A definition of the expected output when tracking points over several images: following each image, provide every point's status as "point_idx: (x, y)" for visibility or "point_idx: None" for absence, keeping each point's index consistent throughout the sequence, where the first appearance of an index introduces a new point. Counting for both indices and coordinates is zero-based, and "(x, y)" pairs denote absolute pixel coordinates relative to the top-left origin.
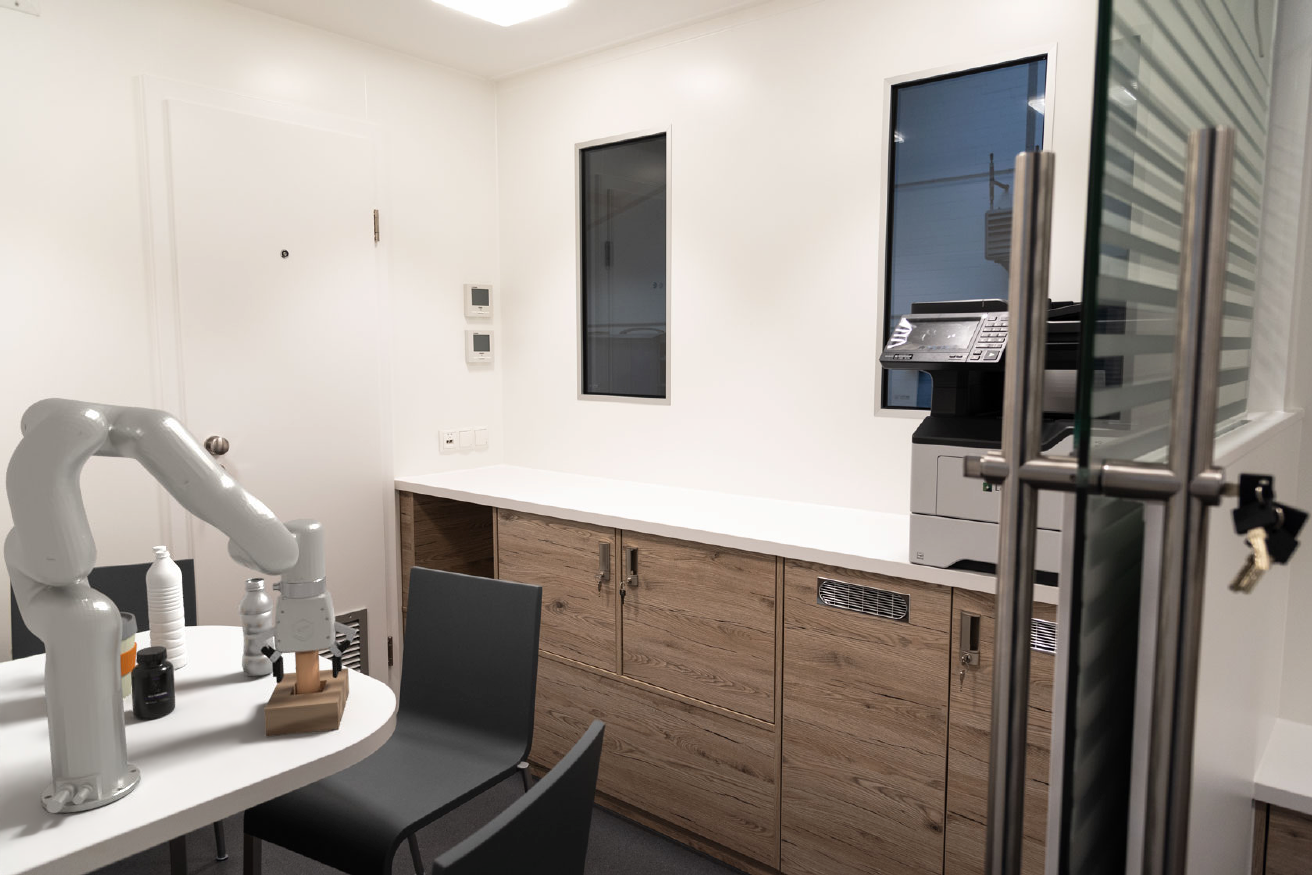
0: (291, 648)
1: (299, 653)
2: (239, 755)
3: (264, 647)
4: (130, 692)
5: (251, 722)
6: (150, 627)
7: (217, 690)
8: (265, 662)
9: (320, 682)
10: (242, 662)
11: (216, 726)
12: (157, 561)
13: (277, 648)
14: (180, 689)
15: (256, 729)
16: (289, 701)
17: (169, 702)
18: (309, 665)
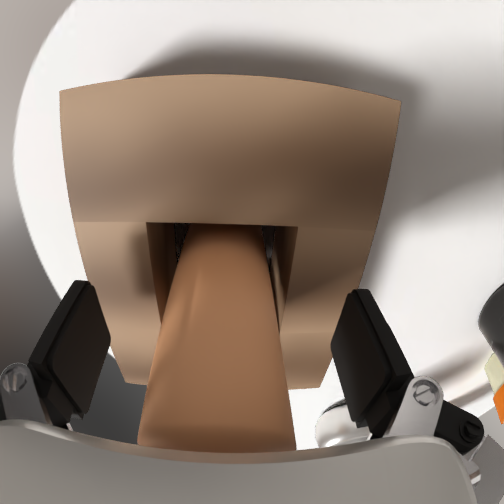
0: (346, 484)
1: (264, 440)
2: (404, 8)
3: (475, 445)
4: (489, 360)
5: (389, 214)
6: None
7: (412, 368)
8: (339, 427)
9: None
10: None
11: (454, 218)
12: None
13: (456, 456)
14: (449, 370)
15: None
16: (295, 149)
17: (502, 309)
18: (188, 347)
